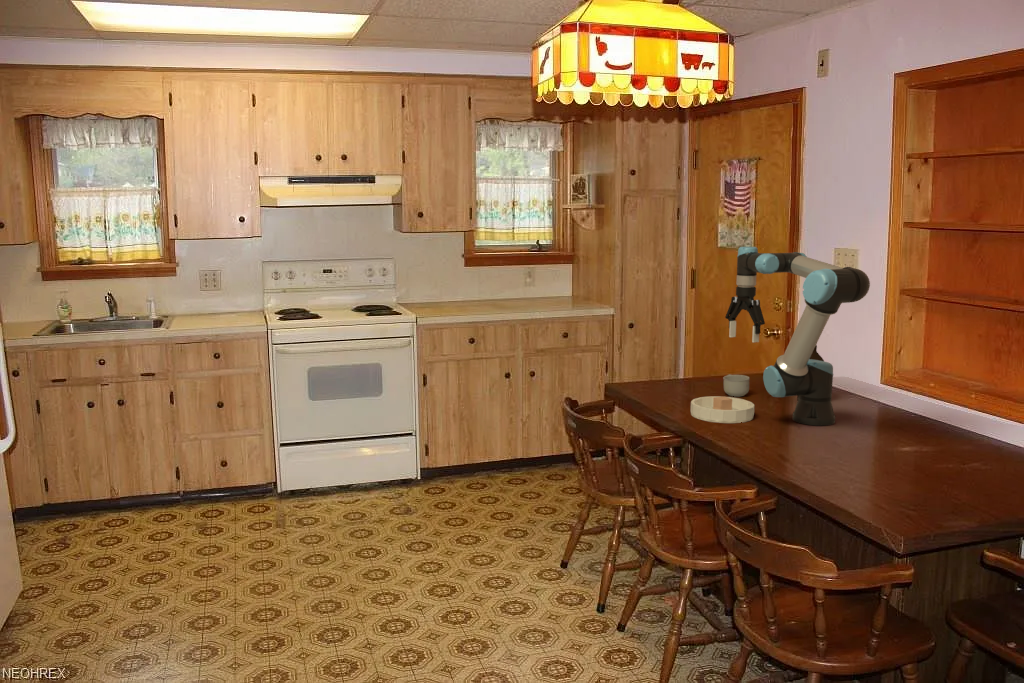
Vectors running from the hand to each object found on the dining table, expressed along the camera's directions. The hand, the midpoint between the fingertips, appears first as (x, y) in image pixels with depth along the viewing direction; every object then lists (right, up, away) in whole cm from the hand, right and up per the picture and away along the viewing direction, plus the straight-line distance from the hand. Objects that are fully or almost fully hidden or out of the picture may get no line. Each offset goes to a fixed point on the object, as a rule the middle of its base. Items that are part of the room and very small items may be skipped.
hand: (743, 339), depth 346 cm
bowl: (-11, -29, -9) cm, 32 cm away
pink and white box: (-11, -29, -9) cm, 32 cm away
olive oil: (+31, -26, +13) cm, 42 cm away
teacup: (+3, -24, +27) cm, 36 cm away
